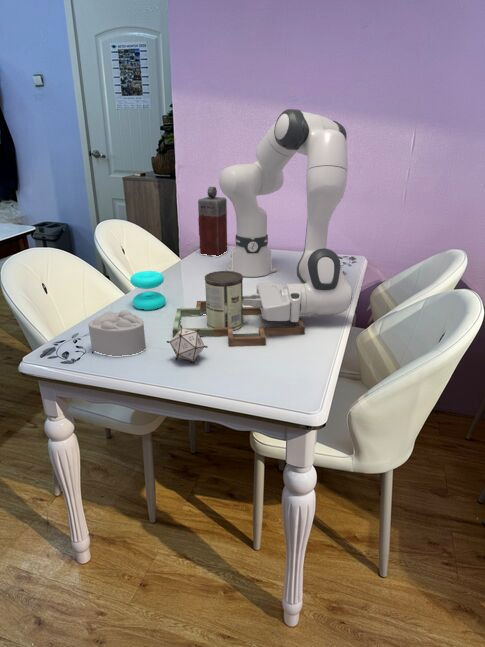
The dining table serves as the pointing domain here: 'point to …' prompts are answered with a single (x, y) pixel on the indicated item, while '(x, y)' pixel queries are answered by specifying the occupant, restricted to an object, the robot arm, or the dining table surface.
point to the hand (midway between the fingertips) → (242, 300)
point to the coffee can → (224, 299)
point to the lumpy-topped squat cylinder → (117, 334)
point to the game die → (187, 344)
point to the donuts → (147, 282)
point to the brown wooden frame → (233, 339)
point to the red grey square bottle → (212, 223)
